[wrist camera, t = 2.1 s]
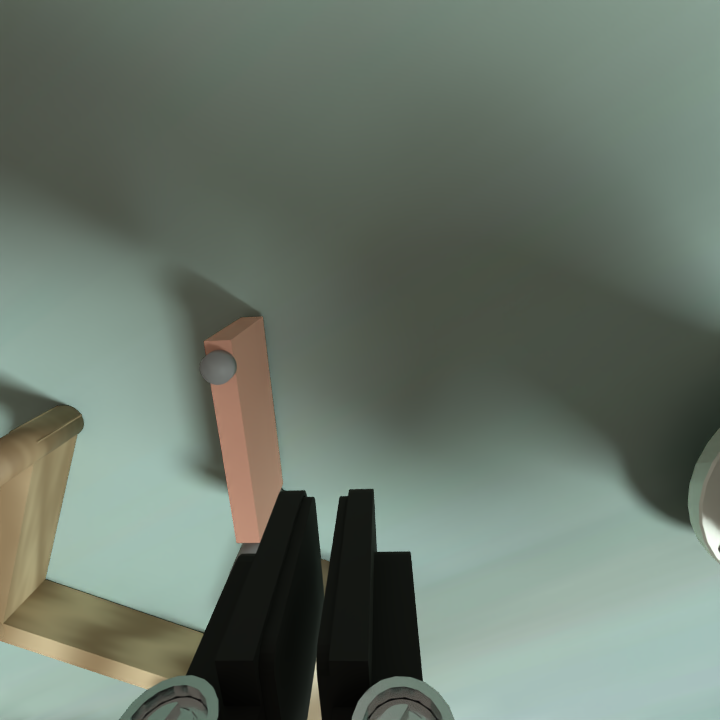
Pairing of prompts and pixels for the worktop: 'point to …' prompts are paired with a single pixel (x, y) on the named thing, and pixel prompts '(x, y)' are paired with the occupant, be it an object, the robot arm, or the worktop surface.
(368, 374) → the worktop surface
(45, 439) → the frame
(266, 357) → the rail
